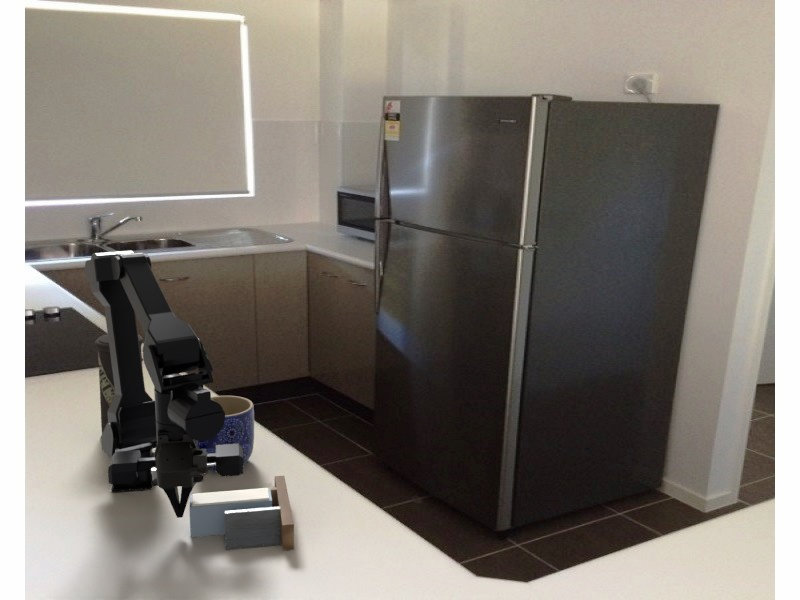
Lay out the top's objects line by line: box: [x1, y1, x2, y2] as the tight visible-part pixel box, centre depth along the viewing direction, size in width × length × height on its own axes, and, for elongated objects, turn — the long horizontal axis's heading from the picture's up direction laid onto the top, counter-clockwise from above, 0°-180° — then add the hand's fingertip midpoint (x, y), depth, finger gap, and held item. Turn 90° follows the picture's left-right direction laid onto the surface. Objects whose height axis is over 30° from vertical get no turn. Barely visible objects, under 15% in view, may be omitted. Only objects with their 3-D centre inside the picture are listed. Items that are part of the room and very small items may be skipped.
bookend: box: [224, 506, 282, 551], centre depth 111 cm, size 8×3×4 cm, turn 103°
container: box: [94, 333, 144, 434], centre depth 148 cm, size 9×9×20 cm
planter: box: [197, 395, 255, 472], centre depth 136 cm, size 11×11×11 cm
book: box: [188, 487, 272, 538], centre depth 115 cm, size 12×4×5 cm, turn 103°
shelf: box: [267, 475, 295, 551], centre depth 116 cm, size 10×16×4 cm, turn 13°
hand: (180, 516), depth 113 cm, fingers closed
